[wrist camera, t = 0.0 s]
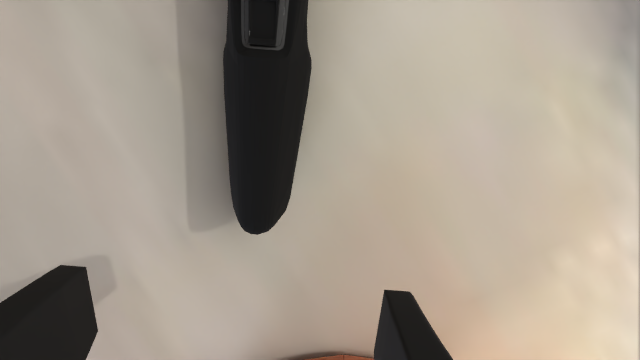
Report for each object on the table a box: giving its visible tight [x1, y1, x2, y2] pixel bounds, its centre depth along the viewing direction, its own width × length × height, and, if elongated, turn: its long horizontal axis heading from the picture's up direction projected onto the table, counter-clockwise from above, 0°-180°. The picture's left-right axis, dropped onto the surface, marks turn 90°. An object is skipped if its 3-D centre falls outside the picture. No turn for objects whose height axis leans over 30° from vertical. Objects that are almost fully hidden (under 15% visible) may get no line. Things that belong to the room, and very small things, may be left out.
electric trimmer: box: [223, 0, 311, 235], centre depth 18 cm, size 4×16×3 cm, turn 175°
